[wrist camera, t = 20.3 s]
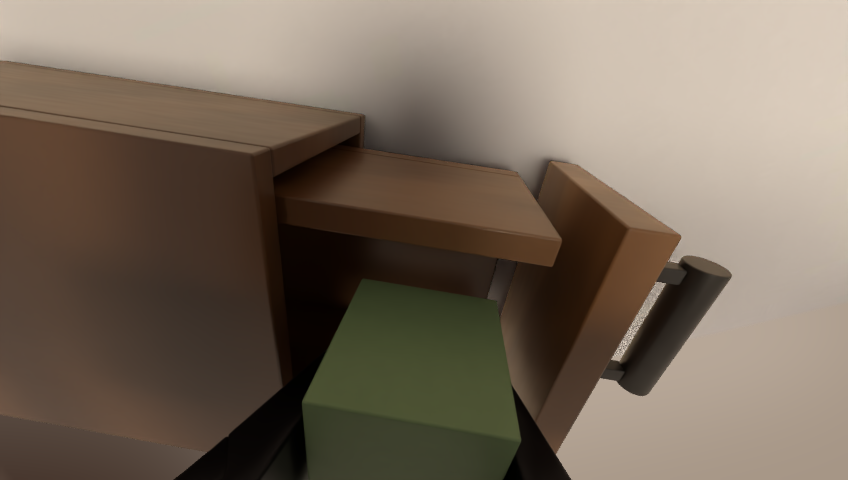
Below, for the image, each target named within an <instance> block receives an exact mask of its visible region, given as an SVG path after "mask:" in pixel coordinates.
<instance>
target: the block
mask: <svg viewBox="0 0 848 480" xmlns="http://www.w3.org/2000/svg"><path fill="white" fill-rule="evenodd" d="M302 410H303V422H304V434H305V446H306V458H307V470H308V480H503V479H504V477H505V475H506V473H507V470H508V468H509V466H510V464H511V462H512V460H513V458H514V456H515V454H516V451H517V449H518V447H519V445H520V443H521V436H520V431H519V425H518V419H517V414H516V408H515V402H514V397H513V391H512V385H511V380H510V374H509V368H508V362H507V357H506V351H505V345H504V340H503V334H502V328H501V323H500V317H499V311H498V306H497V301H496V300H490V299H484V298H478V297H472V296H466V295H460V294H454V293H448V292H442V291H436V290H430V289H424V288H418V287H412V286H406V285H400V284H394V283H388V282H382V281H376V280H370V279H362V280H361V282H360V284H359V286H358V288H357V290H356V292H355V294H354V296H353V298H352V300H351V302H350V304H349V306H348V308H347V310H346V313H345V315H344V317H343V319H342V321H341V323H340V325H339V327H338V329H337V331H336V333H335V335H334V337H333V339H332V341H331V343H330V345H329V347H328V349H327V351H326V353H325V355H324V357H323V360H322V362H321V364H320V366H319V368H318V370H317V372H316V374H315V376H314V378H313V380H312V382H311V384H310V386H309V388H308V390H307V392H306V394H305V396H304V398H303V400H302Z"/></svg>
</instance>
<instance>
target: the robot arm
mask: <svg viewBox="0 0 848 480" xmlns="http://www.w3.org/2000/svg"><path fill="white" fill-rule="evenodd" d="M327 349H328V348H327ZM327 349H326V350H325V351H324V352H323V353H322V354H320V355H319V356H318V357H317V358H316V359H315V360H314V361H312V362H311V363H310V364H309V365H308V366H307V367H305V368H304V369H303V370H302V371H301V372H300V373H299V374H297V375H296V376H295V377H294V378H293V379H292V380H290V381H289V382H288V383H287V384H286V385H285V386H284V387H282V388H281V389H280V390H279V391H278V392H277V393H275V394H274V395H273V396H272V397H271V398H270V399H269V400H267V401H266V402H265V403H264V404H263V405H262V406H260V407H259V408H258V409H257V410H256V411H255V412H254V413H252V414H251V415H250V416H249V417H248V418H247V419H245V420H244V421H243V422H242V423H241V424H240V425H239V426H237V427H236V428H235V429H234V430H233V431H232V432H231V433H229V435H228V437H224V438H223V439H222V440H221V441H220V442H219V443H218V444H216V445H215V446H214V447H213V448H212V449H211V450H209V451H208V452H207V453H206V454H205V455H203V456H202V457H201V458H200V459H199V460H198V461H196V462H195V463H194V464H193V465H192V466H190V467H189V468H188V469H187V470H185V471H184V472H183V473H182V474H180V475H179V476H178V477H176V478H175V479H174V480H308V470H307V458H306V446H305V434H304V422H303V410H302V400H303V398H304V396H305V394H306V392H307V390H308V388H309V386H310V384H311V382H312V380H313V378H314V376H315V374H316V372H317V370H318V368H319V366H320V364H321V362H322V360H323V357H324V355H325V353H326V351H327ZM511 385H512V384H511ZM512 391H513V397H514V402H515V408H516V414H517V419H518V425H519V431H520V436H521V443H520V445H519V447H518V449H517V451H516V454H515V456H514V458H513V460H512V462H511V464H510V466H509V468H508V470H507V473H506V475H505V477H504V479H503V480H571V478H570V477H569V475H568V474H567V472H566V470H565V469H564V467H563V466H562V464H561V462H560V461H559V459H558V458H557V456H556V454H555V453H554V451H553V450H552V448H551V446H550V445H549V443H548V442H547V440H546V438H545V437H544V435H543V434H542V432H541V430H540V429H539V427H538V426H537V424H536V422H535V421H534V419H533V418H532V416H531V414H530V413H529V411H528V410H527V408H526V406H525V405H524V403H523V402H522V400H521V398H520V397H519V395H518V394H517V392H516V390H515V389H514V387H513V386H512Z"/></svg>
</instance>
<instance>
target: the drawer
mask: <svg viewBox="0 0 848 480" xmlns="http://www.w3.org/2000/svg"><path fill="white" fill-rule="evenodd" d="M273 185H274V195H275V205H276V215H277V225H278V235H279V245H280V255H281V265H282V275H283V285H284V295H285V305H286V315H287V325H288V335H289V345H290V355H291V365H292V375H293V378H294V377H295V376H296V375H297V374H299V373H300V372H301V371H302V370H303V369H304V368H305V367H307V366H308V365H309V364H310V363H311V362H312V361H314V360H315V359H316V358H317V357H318V356H319V355H320V354H322V353H323V352H324V351H325V350H326V349H327V348H328V347H329V345H330V343H331V341H332V339H333V337H334V335H335V333H336V331H337V329H338V327H339V325H340V323H341V321H342V319H343V317H344V315H345V313H346V310H347V308H348V306H349V304H350V302H351V300H352V298H353V296H354V294H355V292H356V290H357V288H358V286H359V284H360V282H361V280H362V279H370V280H376V281H382V282H388V283H394V284H400V285H406V286H412V287H418V288H424V289H430V290H436V291H442V292H448V293H454V294H460V295H466V296H472V297H478V298H484V299H487V296H488V292H489V289H490V285H491V282H492V278H493V275H494V271H495V267H496V264H497V260H498V258H499V259H505V260H511V261H517V262H518V263H517V266H516V269H515V273H514V276H513V279H512V282H511V285H510V288H509V291H508V295H507V298H506V301H505V304H504V307H503V310H502V314H501V317H500V323H501V328H502V334H503V340H504V345H505V351H506V357H507V362H508V368H509V374H510V380H511V384H512V386H513V387H514V389H515V390H516V392H517V394H518V395H519V397H520V398H521V400H522V402H523V403H524V405H525V406H526V408H527V410H528V411H529V413H530V414H531V416H532V418H533V419H534V421H535V422H536V424H537V426H538V427H539V429H540V430H541V432H542V434H543V435H544V437H545V438H546V440H547V442H548V443H549V445H550V446H551V448H552V450H553V451H554V453H555V454H556V453H557V451H558V449H559V448H560V446H561V444H562V443H563V441H564V439H565V438H566V436H567V434H568V432H569V431H570V429H571V427H572V425H573V424H574V422H575V420H576V419H577V417H578V415H579V413H580V412H581V410H582V408H583V406H584V405H585V403H586V401H587V399H588V398H589V396H590V394H591V393H592V391H593V389H594V388H595V386H596V384H597V382H598V381H599V379H600V378H603V379H609V380H615V381H617V382H618V384H619V385H620V386H621V387H623V388H624V389H625V390H627V391H628V392H630V393H632V394H635V395H638V396H645V395H647V394H648V393H649V392H650V391H651V389H652V388H653V387H654V385H655V384H656V383H657V381H658V380H659V378H660V377H661V375H662V374H663V373H664V371H665V370H666V368H667V367H668V366H669V364H670V363H671V361H672V360H673V359H674V357H675V356H676V354H677V353H678V352H679V350H680V349H681V347H682V346H683V345H684V343H685V342H686V340H687V339H688V338H689V336H690V335H691V333H692V332H693V331H694V329H695V328H696V326H697V325H698V324H699V322H700V321H701V319H702V318H703V317H704V315H705V314H706V312H707V311H708V310H709V308H710V307H711V305H712V304H713V302H714V301H715V300H716V298H717V297H718V295H719V294H720V293H721V291H722V290H723V288H724V287H725V286H726V284H727V283H728V281H729V280H730V279H731V277H732V274H731V273H730V272H729V271H728V270H727V269H726V268H724V267H722V266H721V265H719V264H717V263H714V262H712V261H709V260H707V259H704V258H700V257H696V256H683V257H682V258H681V260H680V262H679V263H678V264H677V263H672V262H668V260H669V258H670V256H671V255H672V253H673V251H674V250H675V248H676V246H677V244H678V243H679V241H680V239H681V235H679V234H678V233H676V232H675V231H673V230H672V229H670V228H669V227H667V226H666V225H665V224H663V223H662V222H660V221H659V220H657V219H656V218H654V217H653V216H651V215H650V214H648V213H647V212H646V211H644V210H643V209H641V208H640V207H638V206H637V205H635V204H634V203H632V202H631V201H630V200H628V199H627V198H625V197H624V196H622V195H621V194H619V193H618V192H616V191H615V190H613V189H612V188H611V187H609V186H608V185H606V184H605V183H603V182H602V181H600V180H599V179H597V178H596V177H594V176H593V175H592V174H590V173H589V172H587V171H586V170H584V169H583V168H581V167H580V166H578V165H575V164H569V163H562V162H555V161H550V162H549V165H548V168H547V171H546V175H545V178H544V181H543V184H542V187H541V190H540V194H539V197H538V200H537V201H536V199H535V198H534V196H533V195H532V193H531V192H530V190H529V189H528V187H527V186H526V184H525V183H524V181H523V180H522V178H521V177H520V175H519V174H518V172H514V171H508V170H501V169H495V168H488V167H482V166H475V165H469V164H462V163H455V162H449V161H442V160H436V159H429V158H423V157H416V156H410V155H403V154H396V153H390V152H383V151H377V150H370V149H364V148H357V147H351V146H344V145H335V146H333V147H332V148H330V149H328V150H326V151H324V152H322V153H320V154H318V155H316V156H314V157H312V158H310V159H308V160H306V161H304V162H302V163H301V164H299V165H297V166H295V167H293V168H291V169H289V170H287V171H285V172H283V173H281V174H279V175H277V176H275V177H273ZM655 282H662V283H666V285H665V286H664V288H663V290H662V291H661V293H660V295H659V296H658V298H657V300H656V301H655V303H654V305H653V306H652V308H651V310H650V311H649V313H648V315H647V316H646V318H645V320H644V321H643V323H642V325H641V326H640V328H639V330H638V331H637V333H636V335H635V336H634V338H633V340H632V341H631V343H630V345H629V346H628V348H627V350H626V351H625V353H624V355H623V356H622V358H621V360H620V361H614V360H611V358H612V356H613V355H614V353H615V351H616V350H617V348H618V346H619V344H620V343H621V341H622V339H623V338H624V336H625V334H626V332H627V331H628V329H629V327H630V325H631V324H632V322H633V320H634V319H635V317H636V315H637V313H638V312H639V310H640V308H641V306H642V305H643V303H644V301H645V300H646V298H647V296H648V294H649V293H650V291H651V289H652V287H653V286H654V284H655Z"/></svg>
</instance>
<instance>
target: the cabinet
mask: <svg viewBox="0 0 848 480" xmlns="http://www.w3.org/2000/svg"><path fill="white" fill-rule="evenodd" d="M364 128H365V116H364V115H363V114H357V113H350V112H343V111H337V110H330V109H323V108H317V107H310V106H303V105H297V104H290V103H283V102H277V101H270V100H263V99H256V98H250V97H243V96H236V95H230V94H223V93H216V92H210V91H203V90H196V89H190V88H183V87H176V86H170V85H163V84H156V83H150V82H143V81H136V80H129V79H123V78H116V77H109V76H103V75H96V74H89V73H83V72H76V71H69V70H63V69H56V68H49V67H43V66H36V65H29V64H23V63H16V62H9V61H0V415H5V416H10V417H16V418H22V419H27V420H32V421H38V422H44V423H49V424H54V425H60V426H65V427H71V428H77V429H82V430H88V431H93V432H99V433H104V434H110V435H115V436H121V437H126V438H132V439H137V440H143V441H148V442H154V443H159V444H165V445H171V446H176V447H181V448H187V449H193V450H198V451H203V452H208V451H209V450H211V449H212V448H213V447H214V446H215V445H216V444H218V443H219V442H220V441H221V440H222V439H223V438H224V437H228V435H229V433H231V432H232V431H233V430H234V429H235V428H236V427H237V426H239V425H240V424H241V423H242V422H243V421H244V420H245V419H247V418H248V417H249V416H250V415H251V414H252V413H254V412H255V411H256V410H257V409H258V408H259V407H260V406H262V405H263V404H264V403H265V402H266V401H267V400H269V399H270V398H271V397H272V396H273V395H274V394H275V393H277V392H278V391H279V390H280V389H281V388H282V387H284V386H285V385H286V384H287V383H288V382H289V381H290V380H292V379H293V375H292V365H291V355H290V345H289V335H288V325H287V315H286V305H285V295H284V285H283V275H282V265H281V255H280V245H279V235H278V225H277V215H276V205H275V195H274V185H273V177H275V176H277V175H279V174H281V173H283V172H285V171H287V170H289V169H291V168H293V167H295V166H297V165H299V164H301V163H302V162H304V161H306V160H308V159H310V158H312V157H314V156H316V155H318V154H320V153H322V152H324V151H326V150H328V149H330V148H332V147H333V146H335V145H344V146H351V147H357V148H364Z"/></svg>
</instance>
